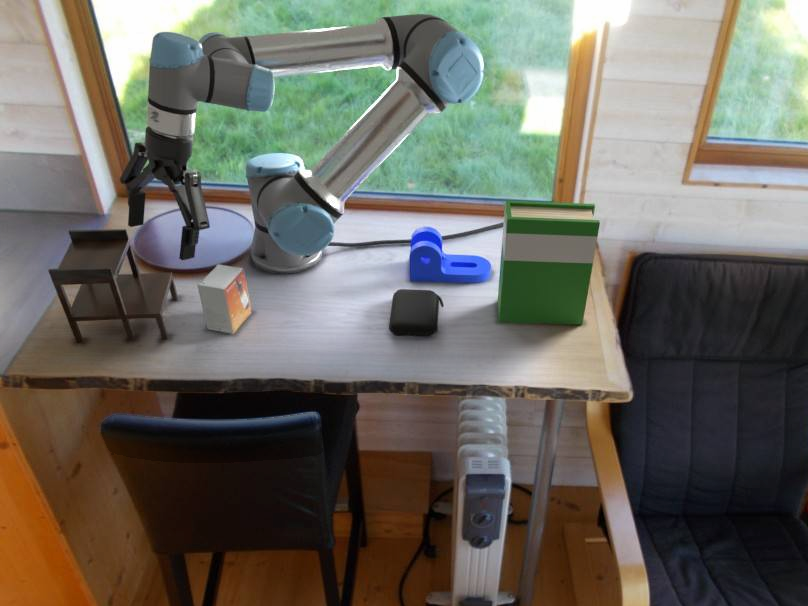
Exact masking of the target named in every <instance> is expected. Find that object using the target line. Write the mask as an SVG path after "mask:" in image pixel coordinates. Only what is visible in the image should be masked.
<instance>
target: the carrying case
mask: <svg viewBox="0 0 808 606" xmlns="http://www.w3.org/2000/svg"><path fill="white" fill-rule="evenodd" d="M440 307H441V308H444V301H443V299H442V297H441V296H440V295H438V294H437V293H436V292H435V291H434V290H431V289H410V288H408V289H407V288H400V289H397V290H396V291H395V292H394V293H393V295H392V300H391V308H390V314H389V315H390V316H389V323H388V330H389V332H390V333H391V334H392V335H394V336H395V337H417V338H419V337H420V338H421V337H422V338H428V337H432V336H433V335H435V334H436V333H437V332H438V323H439V309H440Z"/></svg>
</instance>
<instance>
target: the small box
mask: <svg viewBox="0 0 808 606" xmlns="http://www.w3.org/2000/svg"><path fill="white" fill-rule="evenodd" d="M196 286H197V290H198V294H199V298H200V303H201V307H202V311H203V316H204V320H205V323H206V324H205V325H206V327H207V330H211V331H216V332H221V333H226V334H231V335H234V334H235V333H236V331H237V330H238V329H239V328H240V327H241V326H242V324H243V323H244V322H245V321H246V319H247V318H248V317H249V316H250V315H251V314H252V309H251V308H252V307H251V301H250V296H249V290H248V285H247V280H246V274H245V269H244V268H241V267H237V266H230V265H225V264H219V263H217V264H216V266H215V267H214V268H213V269H211V271H210V272H209V273H208V274H207V275H206V276H205V277H204V278H203V279H202V280H201V281H200V282H198V283H197V284H196Z"/></svg>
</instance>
